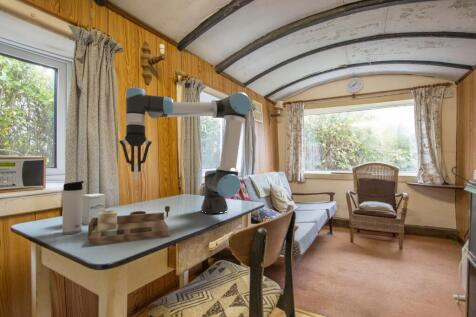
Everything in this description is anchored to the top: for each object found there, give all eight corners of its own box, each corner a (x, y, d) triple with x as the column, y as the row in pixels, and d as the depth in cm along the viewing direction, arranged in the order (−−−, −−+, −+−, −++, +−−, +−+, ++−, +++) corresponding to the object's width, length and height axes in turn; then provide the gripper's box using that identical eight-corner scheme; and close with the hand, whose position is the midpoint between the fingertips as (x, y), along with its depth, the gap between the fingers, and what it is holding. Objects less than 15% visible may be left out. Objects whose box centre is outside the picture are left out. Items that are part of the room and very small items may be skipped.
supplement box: (88, 225, 102) (88, 196, 102) (79, 222, 106) (80, 194, 106) (105, 221, 109) (105, 194, 109) (96, 219, 113) (97, 192, 113)
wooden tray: (163, 224, 105) (163, 212, 105) (169, 236, 89) (169, 222, 89) (92, 231, 94) (92, 217, 94) (84, 246, 78) (84, 229, 78)
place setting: (128, 218, 117) (128, 206, 117) (170, 217, 121) (170, 205, 121) (119, 229, 100) (119, 215, 100) (168, 226, 104) (168, 213, 104)
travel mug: (82, 233, 92) (83, 181, 92) (61, 235, 88) (62, 182, 88) (83, 229, 97) (84, 180, 97) (63, 231, 94) (64, 180, 94)
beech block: (117, 224, 95) (117, 210, 95) (115, 229, 90) (116, 213, 90) (100, 226, 93) (100, 211, 93) (97, 230, 87) (98, 214, 87)
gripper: (151, 126, 108) (151, 178, 108) (119, 125, 102) (119, 179, 102) (152, 124, 101) (152, 179, 101) (118, 122, 96) (118, 180, 96)
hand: (135, 179), depth 102 cm, fingers closed
